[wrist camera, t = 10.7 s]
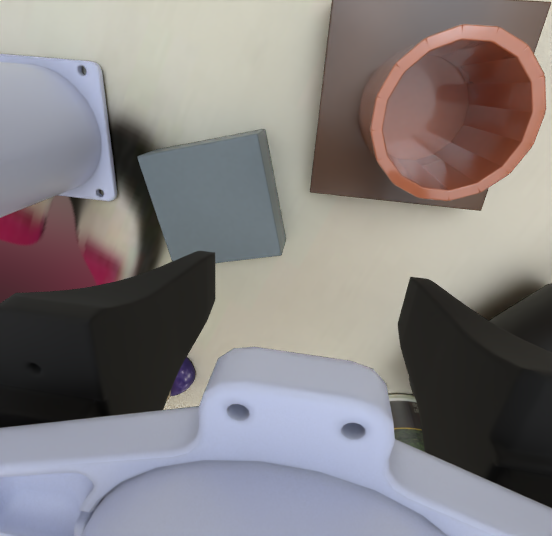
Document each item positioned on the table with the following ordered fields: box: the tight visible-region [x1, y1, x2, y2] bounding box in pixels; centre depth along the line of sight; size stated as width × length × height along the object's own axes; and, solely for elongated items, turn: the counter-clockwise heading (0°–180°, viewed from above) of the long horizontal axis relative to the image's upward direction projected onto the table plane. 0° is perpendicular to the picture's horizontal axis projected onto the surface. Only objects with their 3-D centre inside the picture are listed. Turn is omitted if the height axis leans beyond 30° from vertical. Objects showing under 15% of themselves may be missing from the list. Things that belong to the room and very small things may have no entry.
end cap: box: [409, 284, 552, 399], centre depth 22 cm, size 10×7×7 cm
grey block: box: [138, 129, 286, 263], centre depth 22 cm, size 7×7×2 cm
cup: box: [359, 24, 546, 201], centre depth 15 cm, size 5×5×6 cm
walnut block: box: [310, 0, 551, 211], centre depth 19 cm, size 9×9×2 cm
